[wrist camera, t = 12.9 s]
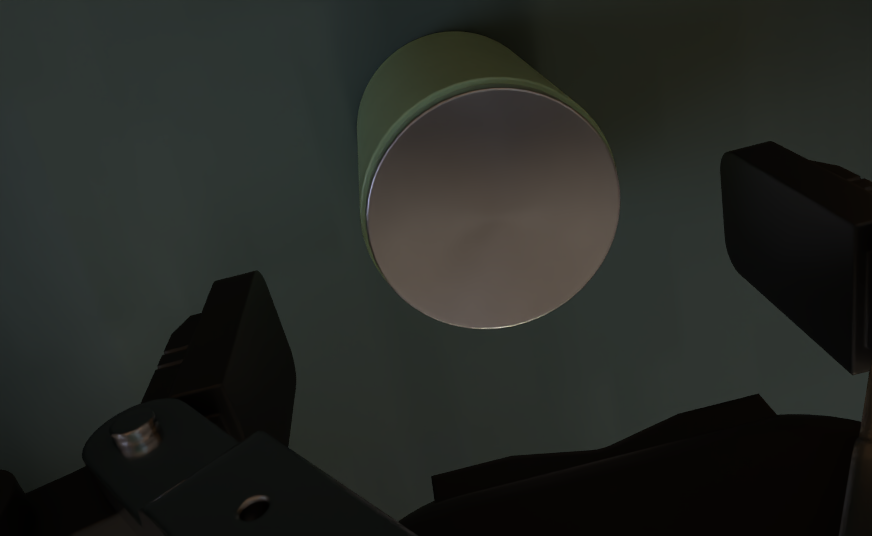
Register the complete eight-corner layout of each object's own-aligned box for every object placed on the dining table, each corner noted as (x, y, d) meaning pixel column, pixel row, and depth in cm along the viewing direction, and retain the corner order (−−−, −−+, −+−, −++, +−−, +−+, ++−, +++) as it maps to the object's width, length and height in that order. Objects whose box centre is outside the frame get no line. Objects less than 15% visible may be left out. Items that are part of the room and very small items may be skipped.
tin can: (321, 87, 18) (309, 162, 13) (500, -6, 18) (570, 29, 12) (410, 247, 20) (433, 373, 15) (572, 168, 20) (661, 266, 14)
